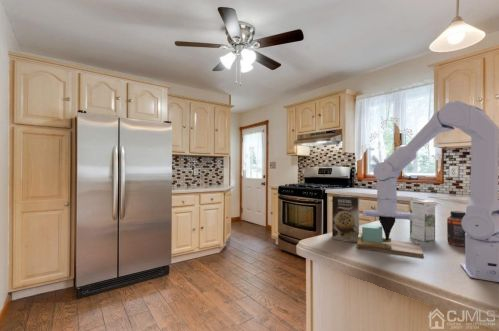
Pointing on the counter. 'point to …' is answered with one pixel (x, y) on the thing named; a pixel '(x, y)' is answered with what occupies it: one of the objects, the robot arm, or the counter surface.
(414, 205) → the syrup box
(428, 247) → the counter surface
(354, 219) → the cookie box
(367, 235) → the teal block
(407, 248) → the slide board
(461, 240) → the supplement bottle
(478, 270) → the robot arm
